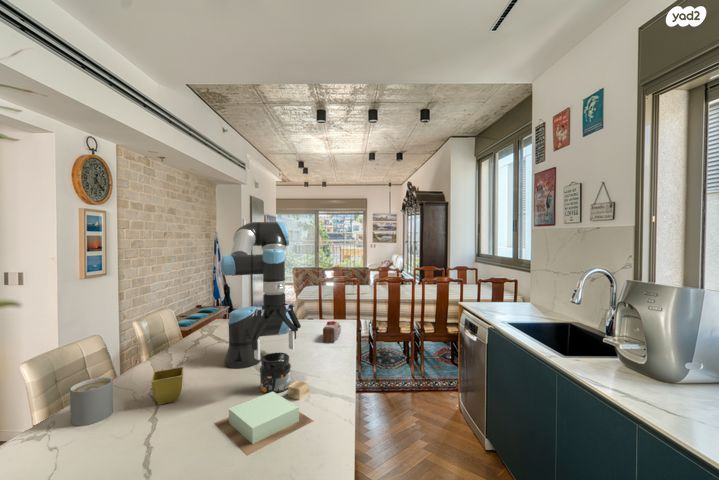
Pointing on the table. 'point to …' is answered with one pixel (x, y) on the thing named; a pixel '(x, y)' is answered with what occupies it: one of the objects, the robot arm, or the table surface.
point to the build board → (250, 448)
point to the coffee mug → (91, 401)
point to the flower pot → (167, 385)
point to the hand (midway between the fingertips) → (275, 353)
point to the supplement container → (275, 373)
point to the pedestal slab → (263, 416)
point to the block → (298, 390)
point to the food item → (331, 332)
